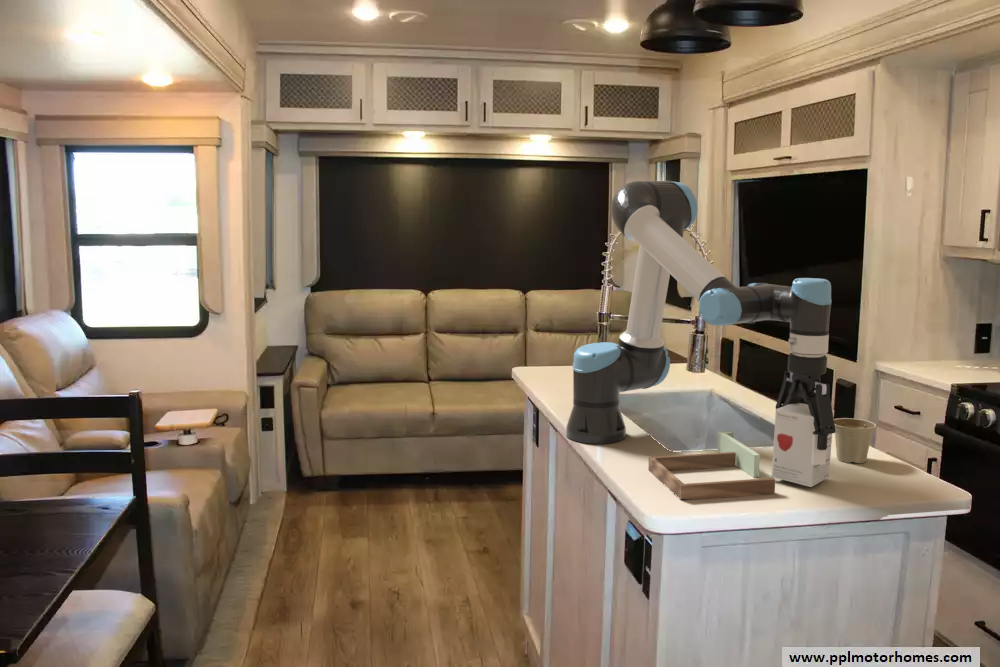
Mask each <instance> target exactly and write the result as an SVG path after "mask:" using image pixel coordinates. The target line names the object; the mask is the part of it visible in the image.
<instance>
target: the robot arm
mask: <svg viewBox="0 0 1000 667" xmlns="http://www.w3.org/2000/svg"><path fill="white" fill-rule="evenodd" d="M610 215H611V219H612V221H613V224H614V225H615V227H616V228H617V230H618V231H619V232H620V233H621V235H623V236H624V237H625V238H626V240H629V241H631V242H636V243H637V244H638V245H639V248H638V254H637V259H636V265H635V266H636V267H635V273H634V274H635V275H634V280H633V285H632V292H631V298H630V305H629V310H628V317H627V325H626V330H624V331H623V332H621V333H620V334H619V338H618V343H615V342H612V341H611V342H610V341H609V342H607V341H604V342H593V343H592V342H591V343H588V344H583V345H581V346H579V347H578V348H577V349H576V350H575V351H574V353H573V363H572V369H573V370H572V371H573V373H572V374H573V380H572V381H573V384H572V388H573V390H572V391H573V398H572V399H573V401H572V404H573V406H572V409H571V412H570V414H569V418H568V421H567V424H566V427H565V428H566V432H565V434H566V437H567V438H568V439H570V440H572V441H575V442H578V443H584V444H597V445H598V444H599V445H601V444H612V443H617V442H618V443H619V442H621V441H623V440H625V439H626V436H627V429H626V425H625V424H626V423H625V421H624V418H623V415H622V411H621V407H620V393H625V392H630V391H636V390H647V389H649V388H652V387H655V386H659V384H662V382H664V380H665V379H666V378H667V376H668V375H669V373H670V372H669V371H670V367H671V358H670V356H668V355H669V352H668V349H667V348H666V347H665V340H664V339H663V338H662V337H661V336H660V334H661V331H662V330H661V329H662V325H663V324H662V323H663V317H664V312H665V306H666V300H667V294H668V290H669V289H668V288H669V282H670V276H671V277H672V278H674V279H675V280H676V281H677V282H678V283H679V284H680V285H681V286H682V287H683V288H684V289H685V290H686V291H687V292H688V293H689V294H690V295H691V296H692V297H693V298H695V300H697V302H698V312H699V313H700V315H701V318H702V320H703V321H704V322H705V323H707V324H708V325H710V326H721V327H722V326H723V327H724V326H727V327H728V326H732V325H738V324H743V323H744V324H745V323H753V322H762V321H776V322H777V321H779V322H784V323H789V338H788V351H789V352H790V353H788V354H787V355H788V357H787V370H784V372H783V381H782V384H781V387H780V390H779V394H778V398H777V400H776V403H775V410H776V409H778V408H780V407H783V406H786V405H789V404H795V403H801V400H803V401H804V404H807V405H808V407H809V411H810V414H811V416H813V417H814V428H815V431H814V432H813V439H812V455H811V464H812V465H822V464H825V462H826V449H827V437H828V434H831V433H832V434H835V424H834V419H835V418H833V412H832V409H833V407H832V402H831V385H830V384H829V383H822V382H821V376H823V375H825V374H826V373H827V368H828V357H827V355H826V354H827V353H829V339H830V338H829V337H830V333H829V330H830V328H829V327H830V318H831V317H830V316H831V308H832V300H833V299H832V285H831V284H832V283H831V282H830V281H829V280H828V279H826V278H819V277H818V278H816V277H815V278H814V277H813V278H812V277H798V278H795V279H794V280H793V281H792V285H791V286H790V285H789V286H788V285H778V284H772V283H771V284H770V283H766V282H758V283H757V282H753V283H748V284H747V286H736V285H735V284H734V283H733V282H732V281H730V280H729V279H728V278H727V277H726V276H725V275H724V274H722V272H720V270H718V269H717V268H716V267H715V266H714V265H713V264H711V262H710V261H708V260H707V259H706V258H705V257H704V256H703V255H702V254H700V252H699V251H698V250H697V249H695V247H693V246H692V245H691V244H690V243H689V242H688V241H687V240H686V239H685V238H684V232H685V231H684V230H687V229H688V228H690V227H691V226H692V225H693V224H694V222H695V221H696V219H697V217H698V216H697V215H698V201H697V199H696V196H695V194H694V193H693V191H692V189H691V188H690V187H689V186H688V185H687V184H685V183H682V182H678V181H672V180H650V181H649V180H648V181H647V180H644V181H643V180H634V181H633V180H632V181H631V182H628V183H625V184H623V185H622V186H621V187H619V189H618V190H617V191H616V192H615V194H614V195H613V197H612V200H611V204H610Z"/></svg>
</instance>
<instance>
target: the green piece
mask: <svg viewBox="0 0 1000 667" xmlns="http://www.w3.org/2000/svg"><path fill="white" fill-rule="evenodd" d="M716 450H717V451H716V453H724V452H735V453H736V463H735V467H738V468H739V469H741V470H742V471H743V472H744V473H747V474H748V475H749V476H750V477H752V478H753V479H756V478H759V477H760V461H761V460H760V459H761V458H760V456H761V455H760V454H759V453H758V452H756V451H755V450H754V449H752V448H750V447H748V446H746V445H745V444H743V443H742V442H740V441H739V440H738V439H736V438H734V432H733V431H732V430H728V431H718V432H717V449H716Z"/></svg>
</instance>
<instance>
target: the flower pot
mask: <svg viewBox="0 0 1000 667" xmlns="http://www.w3.org/2000/svg"><path fill="white" fill-rule="evenodd" d="M834 424H835V433H834V438H835V450H836V451H835V452H836V453H835V454H836V458H837V460H838V461H841V462H844V463H855V464H862V463H866V461H867V460H868V459H867V458H868V453H869V448H870V444H871V441H872V440H871V439H872V436H873V434H874V431H875V429H876V428H877V424H876V423H875V422H872V421H869V420H866V419H859V418H852V417H851V418H849V417H842V418H841V417H840V418H834Z"/></svg>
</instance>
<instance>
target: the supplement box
mask: <svg viewBox="0 0 1000 667" xmlns="http://www.w3.org/2000/svg"><path fill="white" fill-rule="evenodd" d="M832 412H833V418H834V416H835V410H834V409H833V408H832ZM834 419H835V418H834ZM814 431H815V428H814V417H813V416H811V414H810V411H809V407H808V404H806V403H801V402H799V403H795V404H789V405H786V406H783V407H780V408H778V409H776V408H775V418H774V433H773V434H774V435H773V450H772V464H771V478H774V479H775V478H776V479H779V480H783V481H785V482H786V481H787V482H791V483H794V484H798V485H801V486H806V487H809V488H812V487H814V486H816V485H818V484H819V483H821V482H823V481H825V480H826V479H828V478H829V477H830V468H831V467H830V466H831V454H832V453H831V452H832V442H833V433H831V434H828V437H827V449H826V462H825V464H822V465H812V464H811V455H812V439H813V432H814Z"/></svg>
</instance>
